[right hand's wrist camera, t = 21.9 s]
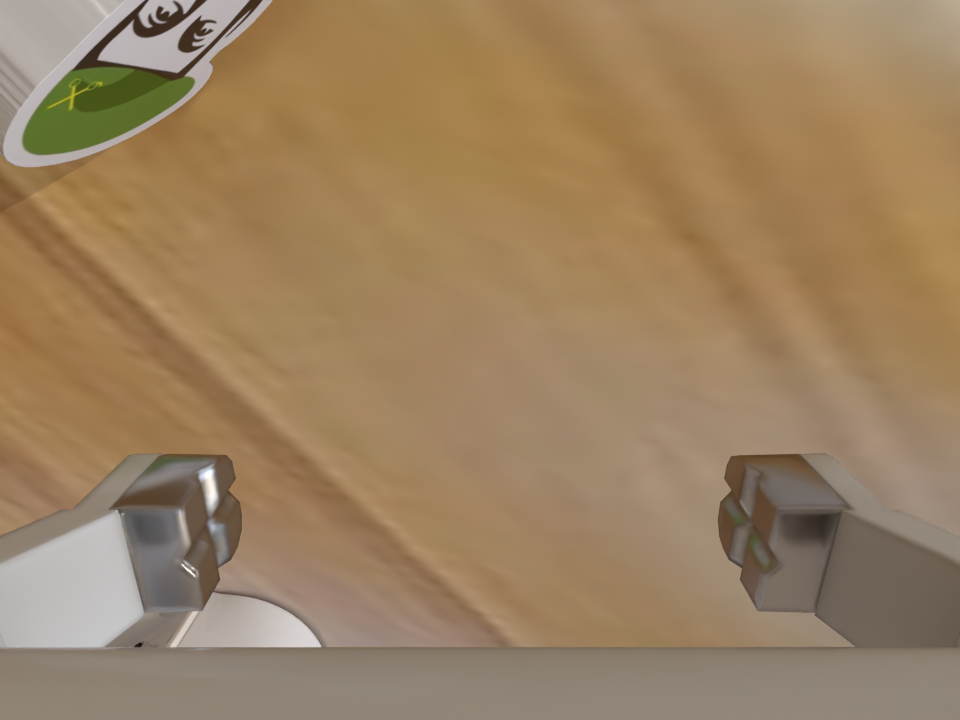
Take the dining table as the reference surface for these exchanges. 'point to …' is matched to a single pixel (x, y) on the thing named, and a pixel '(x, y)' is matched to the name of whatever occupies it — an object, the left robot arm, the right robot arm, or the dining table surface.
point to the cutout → (103, 69)
